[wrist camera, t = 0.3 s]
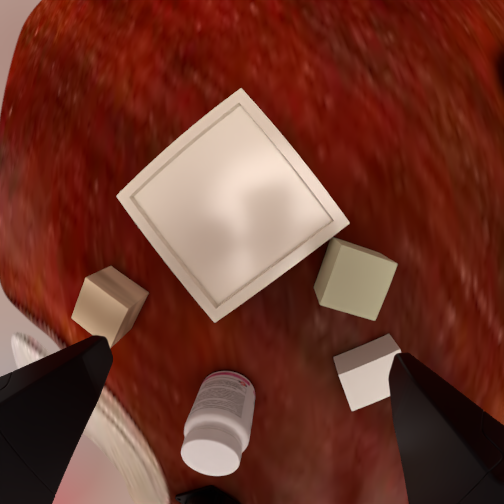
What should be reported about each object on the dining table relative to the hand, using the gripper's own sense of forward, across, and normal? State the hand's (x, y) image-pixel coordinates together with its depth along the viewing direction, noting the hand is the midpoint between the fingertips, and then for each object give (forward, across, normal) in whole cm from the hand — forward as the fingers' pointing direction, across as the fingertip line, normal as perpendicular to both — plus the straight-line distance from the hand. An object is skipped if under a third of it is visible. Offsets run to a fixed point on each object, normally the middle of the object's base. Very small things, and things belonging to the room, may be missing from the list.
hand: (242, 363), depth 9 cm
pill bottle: (+12, +4, +14) cm, 19 cm away
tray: (+15, +3, -1) cm, 15 cm away
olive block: (+15, -6, +3) cm, 16 cm away
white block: (+13, -8, +11) cm, 19 cm away
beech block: (+14, +12, +6) cm, 19 cm away
